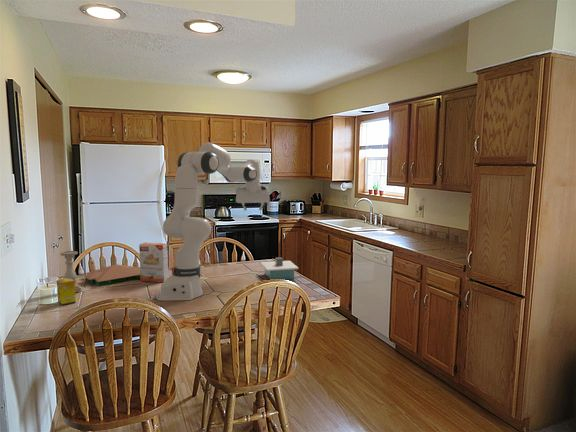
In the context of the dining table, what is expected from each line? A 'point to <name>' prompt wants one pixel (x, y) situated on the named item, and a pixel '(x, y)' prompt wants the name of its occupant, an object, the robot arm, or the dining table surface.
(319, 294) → the dining table surface
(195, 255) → the robot arm
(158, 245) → the cracker box
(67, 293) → the supplement box
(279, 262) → the lid
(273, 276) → the teal open box
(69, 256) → the candle holder
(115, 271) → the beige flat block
